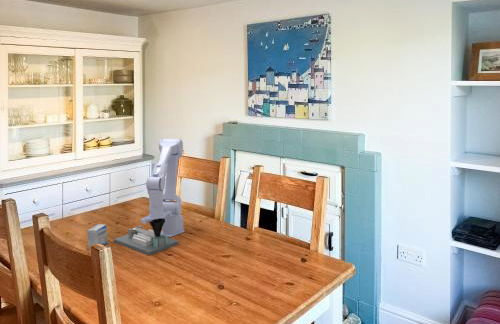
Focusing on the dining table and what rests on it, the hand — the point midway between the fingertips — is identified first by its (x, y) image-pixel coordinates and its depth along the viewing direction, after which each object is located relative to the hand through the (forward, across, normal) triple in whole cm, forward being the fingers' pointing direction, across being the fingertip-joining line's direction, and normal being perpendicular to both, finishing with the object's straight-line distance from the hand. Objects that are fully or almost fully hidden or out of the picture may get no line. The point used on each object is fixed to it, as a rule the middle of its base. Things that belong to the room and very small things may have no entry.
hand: (157, 235), depth 181 cm
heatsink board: (+5, 0, +8) cm, 9 cm away
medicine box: (+5, -15, +21) cm, 26 cm away
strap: (+1, 0, +7) cm, 7 cm away
